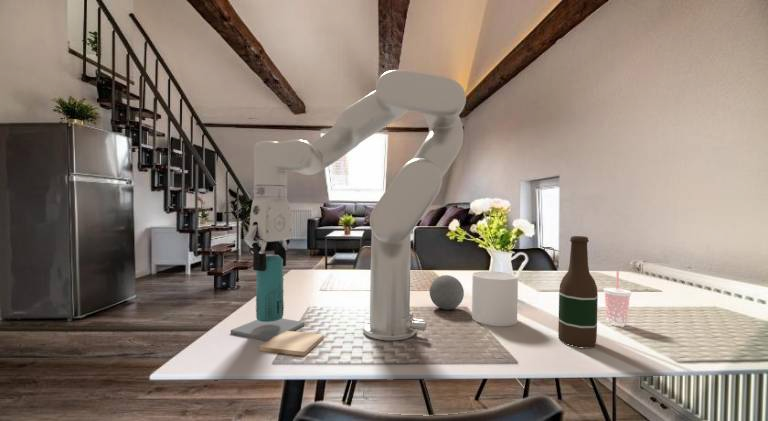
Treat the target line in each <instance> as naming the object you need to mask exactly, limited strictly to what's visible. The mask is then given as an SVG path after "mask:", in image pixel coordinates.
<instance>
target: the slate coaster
mask: <svg viewBox="0 0 768 421" xmlns="http://www.w3.org/2000/svg"><path fill="white" fill-rule="evenodd" d="M304 326H305V322H304V321H299V320H293V319H287V318H282V319H280V320H277V321H271V322H262V321H258V320H257V319H255V320H253V321H250V322H247V323H244V324H242V325H240V326H238V327H235V328H232V329H230V334H231V335H236V336H240V337H247V338H251V339H256V340H262V341H265V342H267V341H269V340H270V339H272V338H273V337H275V336H276V335H278V334H281V333H283V332H285V331H294V332H295V331H296V330H298V329H300V328H302V327H304Z"/></svg>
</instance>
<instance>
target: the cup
mask: <svg viewBox="0 0 768 421" xmlns="http://www.w3.org/2000/svg"><path fill="white" fill-rule="evenodd" d="M471 280H472V281H471V282H472V283H471V284H472V285H471V286H472V287H471V289H472V290H471V292H472V293H471V295H472V296H471V318H472V320H473V321H474V320H475V322H476V323H478V322H479V324H481V325H485V326H491V327H498V328H499V327H512V326H515V325H516V324H517V323H518V300H519V299H518V298H519V296H518V294H519V291H518V288H519V278H518V276H517V275H516V274H512V273H507V272H503V271H502V272H501V271H500V272H499V271H477V272H473V273H472V278H471Z"/></svg>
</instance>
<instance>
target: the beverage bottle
mask: <svg viewBox="0 0 768 421" xmlns="http://www.w3.org/2000/svg"><path fill="white" fill-rule="evenodd" d="M276 250H279V247H278V242H276V241H273V242H267V244H266V247H265V250H264V252H273V251H276ZM255 275H256V276H255V277H256V278H255V279H256V286H255V294H256V295H255V297H256V298H255V317H256V320H258V321H262V322H271V321H277V320H280V319H284V318H283V317H284V312H285V310H284V309H285V306H284V305H285V304H284V281H285V279H284V266H283V259H282V258H281V257H280V256H279V255H274V254H266V270H265V271H256V274H255Z"/></svg>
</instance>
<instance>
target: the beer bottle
mask: <svg viewBox="0 0 768 421" xmlns="http://www.w3.org/2000/svg"><path fill="white" fill-rule="evenodd" d="M569 241H570V242H571V244H570V252H569V253H570V254H569V255H570V256H569V265H568V270H567V272H566V273H565V274H564V276H563V277H562V279H561V281H560V284H559V290H558V340H559V339H560V340H561V341H563V342H564V343H563V342H562V343H563V344H565V343H566V344H569V345H573V346H577V347H593V348H594V347H595V345H596V344H595V343H597V337H598V300H599V298H598V296H599V295H598V286H597V284H596V280H595V279H594V277H593V275H592V274H591V273H590V269H589V268H590V267H589V256H588V255H589V253H588V251H589V250H588V243H590V242H589V241H590V240H589V237H587V236H582V235H572V236H570V240H569ZM560 340H559V341H560ZM561 341H560V342H561ZM566 344H565V345H566ZM569 345H568V346H569ZM573 346H572V347H573ZM577 347H576V348H577Z"/></svg>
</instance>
